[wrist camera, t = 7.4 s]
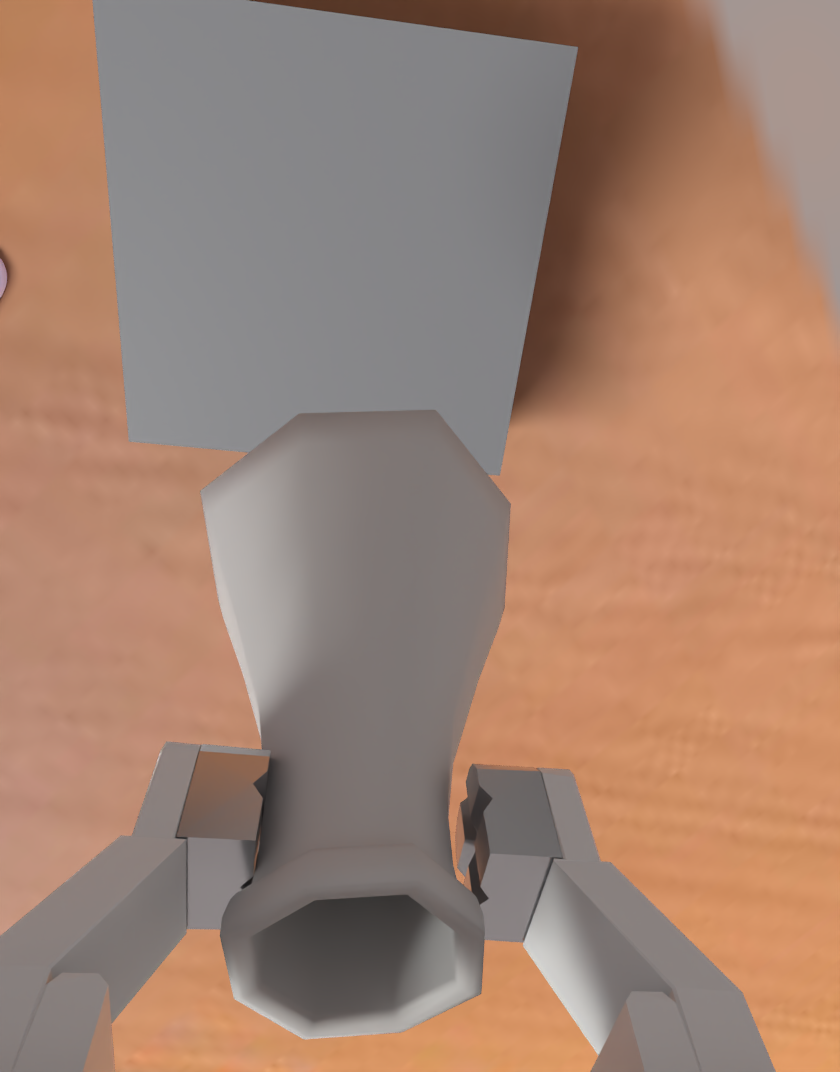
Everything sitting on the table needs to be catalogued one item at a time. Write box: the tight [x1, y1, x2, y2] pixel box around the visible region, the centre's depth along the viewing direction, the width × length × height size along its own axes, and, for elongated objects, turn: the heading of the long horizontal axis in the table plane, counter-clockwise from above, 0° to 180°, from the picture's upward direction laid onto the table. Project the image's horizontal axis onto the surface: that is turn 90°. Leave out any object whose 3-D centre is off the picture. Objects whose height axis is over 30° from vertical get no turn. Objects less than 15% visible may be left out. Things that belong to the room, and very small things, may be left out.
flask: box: [200, 410, 511, 1039], centre depth 13 cm, size 7×7×10 cm
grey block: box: [93, 0, 578, 475], centre depth 27 cm, size 14×14×5 cm
